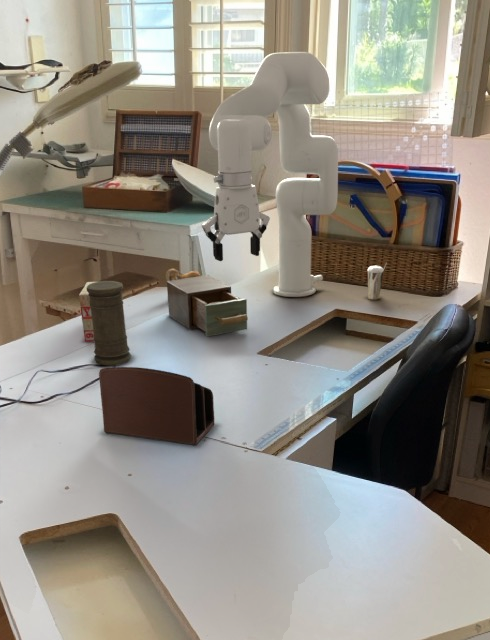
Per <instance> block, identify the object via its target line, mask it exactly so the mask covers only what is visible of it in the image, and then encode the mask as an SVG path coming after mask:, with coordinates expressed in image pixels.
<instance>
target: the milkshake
mask: <svg viewBox="0 0 490 640" xmlns="http://www.w3.org/2000/svg"><path fill="white" fill-rule="evenodd" d="M387 264H388V262H385V264H384V267H382V266H380V265H371V266H369V267H368V268H367V269H366V270H367V271H366V272H367V299H369V300H372V301H373V300H379V299H380V297H381V290H382V282H383V277H384V271H385V268H386V266H387Z"/></svg>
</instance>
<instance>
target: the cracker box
mask: <svg viewBox="0 0 490 640" xmlns="http://www.w3.org/2000/svg"><path fill="white" fill-rule="evenodd" d="M95 282H96V281H87V282H86V283H85V285H84V286H83V288H82V290H81V291H80V292H79V294H78V296H79V306H80V314H81V321H82V328H83V330H82V331H83V339H84V342H85V343H86V342H87V343H91V342H93V343H94V331H93V323H92V315H91V307H90V298H89V295H88V294H89V293H88V292H87V286H88V285H89V284H91V283H95Z"/></svg>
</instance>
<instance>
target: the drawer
mask: <svg viewBox="0 0 490 640" xmlns="http://www.w3.org/2000/svg"><path fill="white" fill-rule="evenodd" d="M190 297H191V315H192V323H193V324H194V325H196V326H197V327H199V328H198V329H201V330H202V331H203V332H205V336H206V337H210V336H211V337H212V336H218V335H223V334H227V333H234V332H239V331H245V330H248V306H247V304H248V303H247V301H248V300H247V298H245V297H244V298H240V297H238V296H236V295H234V294H232V292H231V293H229V292H227V291H225V290H224V291H218V292H212V293H205V294H199V295H193V296H190ZM211 302H219V303H213V304H209V303H211Z"/></svg>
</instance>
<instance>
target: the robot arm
mask: <svg viewBox="0 0 490 640" xmlns="http://www.w3.org/2000/svg"><path fill="white" fill-rule="evenodd" d="M258 66H259V67H258V68H257V70H256V72H255V74H254V76H253V78H252V80H251V82H250V84H249V85H247V86H246V87H244V88H242V89H240V90H238V91H237V92H234V93H233V94H231V95H230V96H228V97H227V98H225V99H224V100H223V101H222V102H221V103H220V104H219V105H218V107H216V108H217V109H216V111H215V112H214V114H213V116H212V118H211V120H210V124H209V128H208V139H209V143H210V145H211V147H212V148H213V149H214V150H216V151H217V162H218V163H217V164H218V166H217V167H218V172H217V175H216V176H215V175H214V176H213V182H214V183H215V184H217V185H218V186H217V187H216V189H215V197H214V205H213V208H214V209H213V215H212V216H210V217H209V218H208V219H206V220H205V221H204V222H203V223H202V224H201V228H202V230H203V233H204V234H205V236H206V237H207V238H208V239H209V240H210V242H212V253H213V254H212V255H213V257H214V260H216V261H218V262H223V261H224V247H223V243H222V241H223V238H224V237H225V236H226V235H227V236H230V235H238V234H246V233H250V234H251V236H250V238H249V239H250V240H249V241H250V243H249V244H250V245H249V246H250V248H249V249H250V254H251V255H252V256H255V257H259V256H260V251H261V238H263V234H265V231H266V230H267V226H268V225H269V223H270V220H271V217H270V216H269V215H267V214H264V213H263V212H261V211H260V206H259V198H258V193H257V192H258V191H257V187H256V185H255V184H253V175H252V174H253V173H252V168H253V167H252V153H257V152H262V151H264V150H265V149H267V147H268V146H269V145H270V142H271V140H272V133H273V131H272V126H271V123H270V122H269V120H268V119H267V118H268V117H271V116H272V115H274V114H275V113H276V115H277V120H278V136H279V137H278V138H279V140H278V141H279V161H280V162H279V163H280V167H281V169H282V171H283V172H285V173H288V174H293V175H295V174H296V175H317V176H318V177H319V178H309V177H289V178H286V179H282V180H281V181H280V182H279V183H278V184H277V186H276V188H275V203H276V210H277V211H276V212H277V218H278V285H275V286H274V287H273V293H274V294H275V295H276V296H280V297H285V298H301V297H303V298H304V297H308V296H311V295H314V294H315V293H316V286H314V285H315V283H319V282H322V281H323V279H324V277H323V275H322V274H317V275H313V274H312V235H313V234H312V233H313V232H312V231H313V230H312V228H311V227H312V226H311V225H310V223H309V221H308V220H307V218H306V216H330V215H332V214H333V213H334V212H335V211H336V208H337V205H338V198H339V197H338V196H339V195H338V194H339V151H338V150H339V149H338V145H337V142H336V140H335V139H334V138H333V137H331V136H328V135H312V132H311V113H310V111H309V109H308V107H307V105H321V104H323V103H324V102H326V100H327V98H328V96H329V95H330V90H331V80H330V79H331V78H330V74H329V72H328V69H327V68H326V66H325V65H324V64H323V63H322V62H321V60H319V58H318V57H317V56H315V55H314V54H313V53H312V52H311V53H310V52H308V51H288V52H285V51H284V52H273V53H269V54H268V55H266V56H265V57H264V58H263V60H262V61H261V62H260V65H258ZM260 220H261V222H260ZM211 227H214V230H215V231H214V232H212V229H211Z"/></svg>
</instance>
